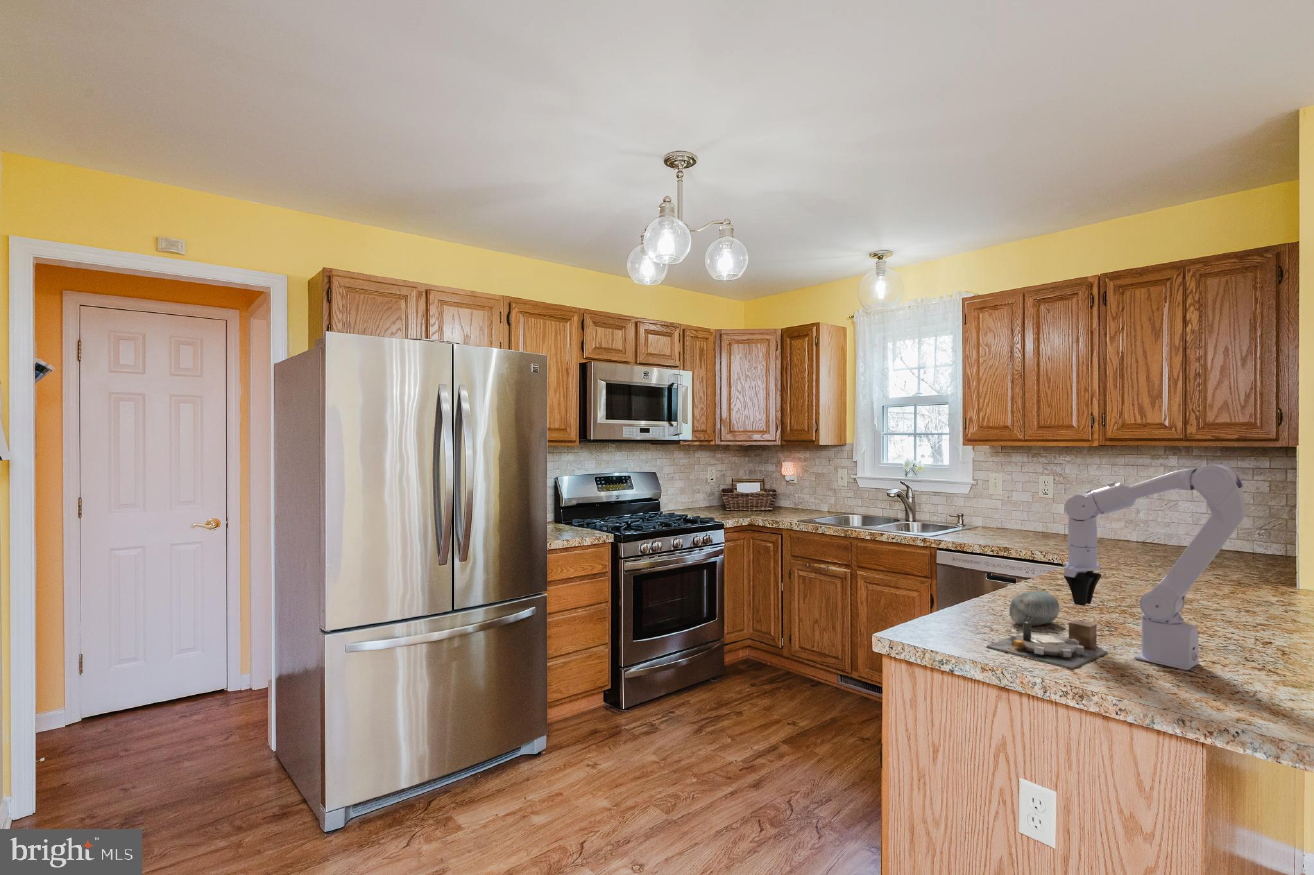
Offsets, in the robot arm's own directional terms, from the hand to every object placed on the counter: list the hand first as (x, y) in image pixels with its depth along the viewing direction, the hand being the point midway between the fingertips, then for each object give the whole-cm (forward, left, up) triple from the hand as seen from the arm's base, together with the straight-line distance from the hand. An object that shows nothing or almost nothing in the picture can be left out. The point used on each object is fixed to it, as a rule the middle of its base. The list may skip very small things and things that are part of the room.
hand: (1082, 604), depth 154 cm
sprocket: (+3, +12, -9) cm, 15 cm away
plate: (+3, +12, -9) cm, 15 cm away
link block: (0, 0, -10) cm, 10 cm away
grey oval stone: (+15, -9, -10) cm, 20 cm away
